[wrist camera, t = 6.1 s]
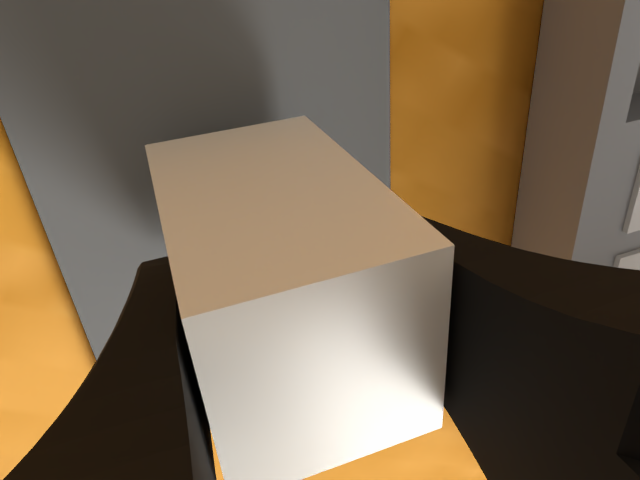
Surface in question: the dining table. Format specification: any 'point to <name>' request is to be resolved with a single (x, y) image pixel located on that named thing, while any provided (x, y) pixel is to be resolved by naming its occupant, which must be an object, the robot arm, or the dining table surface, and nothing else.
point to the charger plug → (302, 298)
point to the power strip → (584, 136)
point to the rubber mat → (170, 109)
